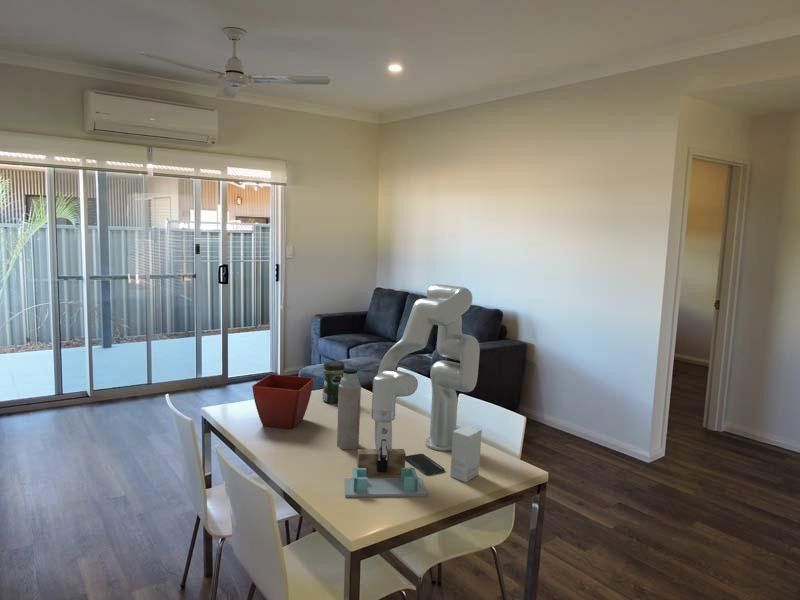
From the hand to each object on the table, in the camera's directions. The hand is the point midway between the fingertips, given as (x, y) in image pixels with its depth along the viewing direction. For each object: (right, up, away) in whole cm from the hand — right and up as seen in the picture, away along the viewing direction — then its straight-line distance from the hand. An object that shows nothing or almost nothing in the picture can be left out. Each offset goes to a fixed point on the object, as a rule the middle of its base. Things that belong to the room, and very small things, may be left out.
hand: (381, 466), depth 181 cm
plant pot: (-41, +5, +42) cm, 59 cm away
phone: (+14, -2, +7) cm, 16 cm away
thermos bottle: (-13, +1, +22) cm, 25 cm away
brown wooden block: (0, -2, 0) cm, 2 cm away
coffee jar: (-24, +8, +74) cm, 78 cm away
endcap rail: (+1, -3, -12) cm, 12 cm away
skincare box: (+27, -3, 0) cm, 27 cm away
